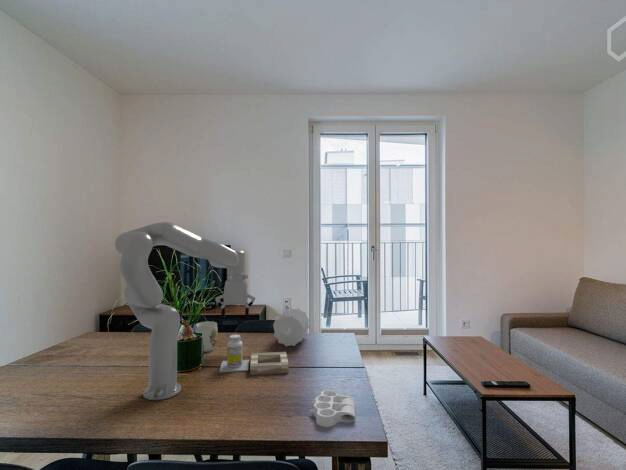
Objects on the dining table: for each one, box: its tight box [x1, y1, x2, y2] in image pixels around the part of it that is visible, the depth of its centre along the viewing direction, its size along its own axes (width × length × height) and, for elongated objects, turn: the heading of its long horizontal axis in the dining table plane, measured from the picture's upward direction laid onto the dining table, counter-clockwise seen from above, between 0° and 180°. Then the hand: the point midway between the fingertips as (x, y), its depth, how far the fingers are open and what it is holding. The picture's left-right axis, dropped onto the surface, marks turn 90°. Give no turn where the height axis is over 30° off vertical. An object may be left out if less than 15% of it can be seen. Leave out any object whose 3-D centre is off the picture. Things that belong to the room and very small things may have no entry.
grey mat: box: [218, 359, 250, 373], centre depth 145 cm, size 12×12×1 cm
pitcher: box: [195, 321, 219, 353], centre depth 169 cm, size 11×18×14 cm, turn 166°
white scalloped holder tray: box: [309, 389, 356, 428], centre depth 107 cm, size 3×18×15 cm
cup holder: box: [249, 351, 290, 376], centre depth 146 cm, size 16×16×4 cm
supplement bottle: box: [226, 334, 244, 368], centre depth 145 cm, size 7×7×13 cm
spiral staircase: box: [272, 307, 310, 347], centre depth 182 cm, size 18×18×25 cm
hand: (235, 316), depth 146 cm, fingers open, 9 cm apart
